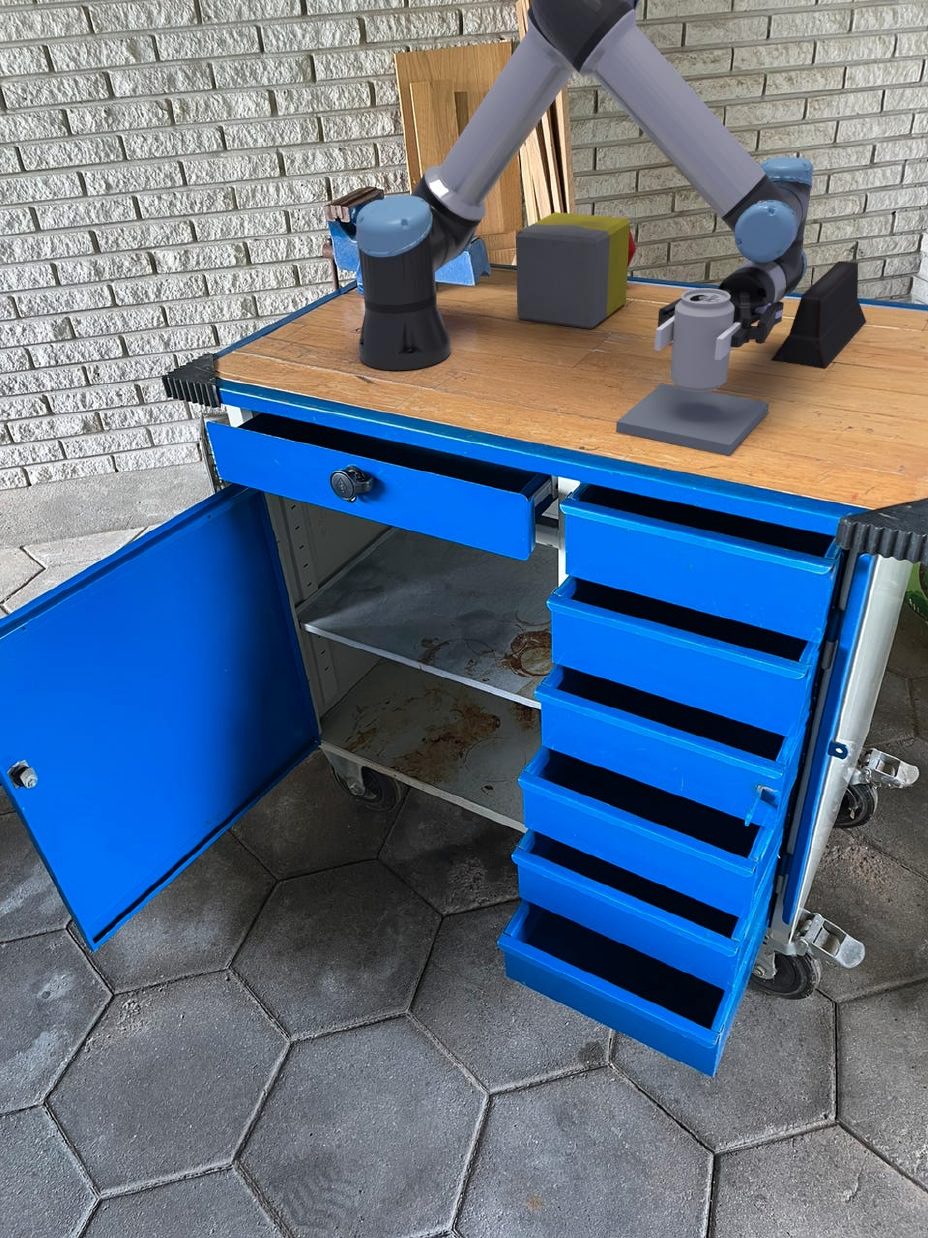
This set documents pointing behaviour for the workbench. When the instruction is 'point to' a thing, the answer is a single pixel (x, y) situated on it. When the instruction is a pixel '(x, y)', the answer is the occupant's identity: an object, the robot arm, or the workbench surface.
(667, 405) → the slate board
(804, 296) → the barrier
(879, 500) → the workbench surface
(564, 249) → the emergency stop button
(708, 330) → the can
